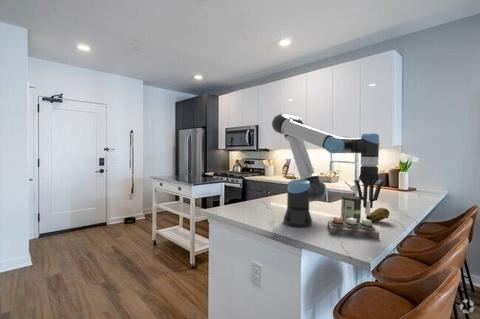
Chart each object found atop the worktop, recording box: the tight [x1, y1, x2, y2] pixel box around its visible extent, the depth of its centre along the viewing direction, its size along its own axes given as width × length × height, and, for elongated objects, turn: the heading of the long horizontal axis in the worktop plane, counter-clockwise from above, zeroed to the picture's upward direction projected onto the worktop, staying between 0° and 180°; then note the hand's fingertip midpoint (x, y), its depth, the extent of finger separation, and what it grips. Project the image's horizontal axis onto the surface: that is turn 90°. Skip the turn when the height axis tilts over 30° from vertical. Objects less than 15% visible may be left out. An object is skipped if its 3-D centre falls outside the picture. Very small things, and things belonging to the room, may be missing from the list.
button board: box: [327, 219, 380, 240], centre depth 118 cm, size 21×12×4 cm, turn 76°
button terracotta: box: [332, 216, 343, 223], centre depth 119 cm, size 4×4×2 cm
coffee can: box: [340, 194, 362, 223], centre depth 135 cm, size 10×10×14 cm
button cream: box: [347, 218, 357, 224], centre depth 117 cm, size 4×4×2 cm
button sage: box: [361, 218, 372, 226], centre depth 116 cm, size 4×4×2 cm
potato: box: [365, 207, 390, 223], centre depth 136 cm, size 8×13×8 cm, turn 81°
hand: (367, 214), depth 115 cm, fingers closed
